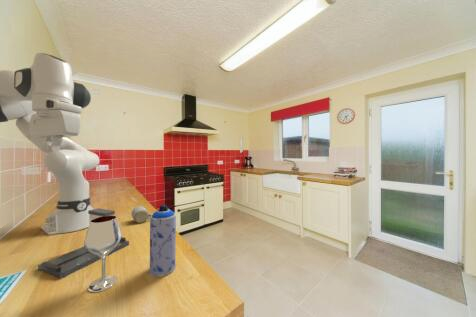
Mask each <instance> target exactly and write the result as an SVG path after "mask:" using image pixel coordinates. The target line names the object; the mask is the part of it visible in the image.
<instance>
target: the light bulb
mask: <svg viewBox="0 0 476 317" xmlns="http://www.w3.org/2000/svg"><path fill="white" fill-rule="evenodd" d="M152 215H153V214H150V213H149V212H148V210H147V208H146V207H144V206H142V205H138V206H136V207H134V208H133V209H132V210H131V218H132V219H133V221H134V222H136V223H138V224H142V222H143V223H145V222H147V220H149V221H150V218H151V216H152Z"/></svg>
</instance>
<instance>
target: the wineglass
mask: <svg viewBox="0 0 476 317" xmlns="http://www.w3.org/2000/svg"><path fill="white" fill-rule="evenodd" d="M122 233H123V232H122V229H121V226H120V223H119V219H118V216H116V215H114V216H103V217H98V218H95V219H93V220H91V222H90V224H89V227H87V231H86V233H85V236H84V241H83V245H84V246H85V248H86V250H87V251H88V252H90V253H92V254H94V255H97V256H99V257H101V258H102V259H101V277H99V278H97V279H95V280H93V281H92V282H91V283H90V284H89V285H88V287H87V291H88V292H89V293H100V292H103V291H106V290H108V289H109V288H112V287H113V286H114V285H115V284H116V283H117V281H118V276H117V275H115V274H109V275H106V261H107V260H106V258H107V257H108V256H109V255H108V254H109V253H110V252H111V251H112V250H113V249H114V248H115V247H116V246H117V245H118V244H119V242H120V240H121V237H123V234H122ZM84 246H83V247H84ZM107 255H108V256H107Z"/></svg>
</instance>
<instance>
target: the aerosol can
mask: <svg viewBox="0 0 476 317" xmlns="http://www.w3.org/2000/svg"><path fill="white" fill-rule="evenodd" d="M158 207H159V209H157V210H156V211H154V212H153V213H152V214H151V215H152V216H151V218H150V220H149V269H148V274H149V275H150V277H153V278H161V277H167V276H168V275H170V274H172V273H173V272H174V271H175V269H176V268H177V264H176V253H177V252H176V247H177V246H176V241H177V240H176V238H177V237H176V236H177V235H176V233H177V232H176V227H177V218H176V213H175V212H174V211H173V210H171V209H169V208H168V205H166V204H161V205H159V206H158Z"/></svg>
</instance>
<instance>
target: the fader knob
mask: <svg viewBox="0 0 476 317" xmlns="http://www.w3.org/2000/svg"><path fill="white" fill-rule="evenodd" d="M88 214H89V224H90V222H91V220H93V219H95V218H98V217H103V216H115V215H116V213H115V210H111V209H106V208H99V207H98V208H94V209H93V210H89V211H88Z"/></svg>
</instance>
